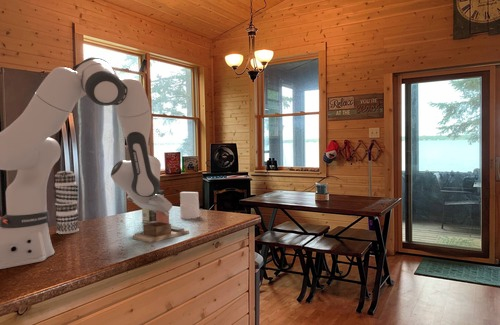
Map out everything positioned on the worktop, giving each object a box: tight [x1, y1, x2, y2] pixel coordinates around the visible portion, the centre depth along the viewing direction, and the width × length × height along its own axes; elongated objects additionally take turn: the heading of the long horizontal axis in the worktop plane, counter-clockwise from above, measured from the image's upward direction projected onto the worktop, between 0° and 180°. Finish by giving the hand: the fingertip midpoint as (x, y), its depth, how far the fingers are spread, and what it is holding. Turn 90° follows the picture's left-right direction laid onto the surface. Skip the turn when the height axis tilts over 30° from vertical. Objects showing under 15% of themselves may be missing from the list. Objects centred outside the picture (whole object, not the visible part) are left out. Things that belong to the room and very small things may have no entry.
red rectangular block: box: [156, 211, 170, 224], centre depth 157 cm, size 4×4×10 cm
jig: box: [132, 222, 190, 244], centre depth 143 cm, size 18×11×5 cm, turn 141°
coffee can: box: [141, 189, 165, 224], centre depth 173 cm, size 10×10×14 cm
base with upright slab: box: [179, 191, 200, 220], centre depth 181 cm, size 9×9×12 cm
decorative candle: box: [52, 170, 80, 235], centre depth 154 cm, size 9×9×25 cm
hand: (163, 213), depth 158 cm, fingers closed on red rectangular block, 4 cm apart
